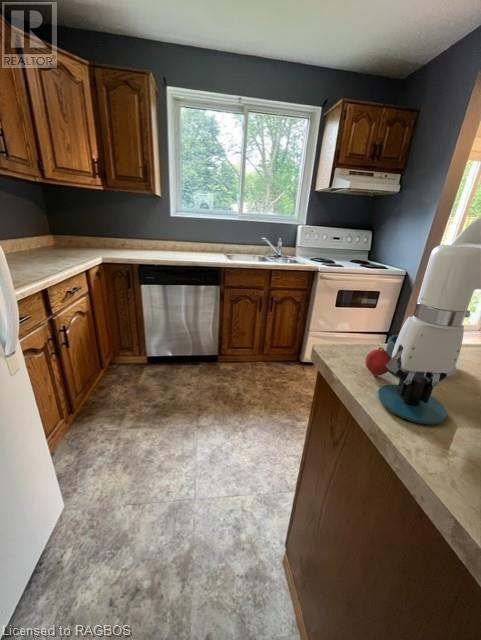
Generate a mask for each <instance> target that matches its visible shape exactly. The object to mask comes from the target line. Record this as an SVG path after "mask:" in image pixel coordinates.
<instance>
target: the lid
mask: <svg viewBox="0 0 481 640" xmlns="http://www.w3.org/2000/svg"><path fill="white" fill-rule="evenodd" d="M426 383H427V380H426V379H425V378H424V377H422V376H419V375H414V377H413V379H412V381H411V384H412V386H413V388H412V391H411V394H410V397H409V400H408V401H407V402H404V401H403V400H402V399H401V398H400V396H399V395H398V394H397V387H398V384H397V383H396V384H395V383H394V384H393V383H392V384H385V385H382V386H380V387H379V389H378V391H377V399H378V401H379V403H381V405H383V407H384V408H385V409H387V410H388V411H390V412H391V413H393V414H394V415H396V416H399V417H400V418H402V419H405V420H408V421H409V422H412V423H413V422H414V423H417V424H421V425H439V424H441V423H443V422H444V421H445V420H446V418H447V417H448V415H447V414H448V413H447V409H446V407H445V406H444V405H443V403H441V402H440V401H439V400H438V399H436V398H435V397H434V396H432V395H430V397H429V400H428V403H424V402H422V401H421V398H422V395H423V392H424V389H425V386H426Z"/></svg>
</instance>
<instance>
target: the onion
mask: <svg viewBox="0 0 481 640" xmlns="http://www.w3.org/2000/svg"><path fill="white" fill-rule="evenodd" d="M390 360H391V357H390V356H389V354H388V353H387V352H386V349H385V348H384V347H383V346H379V347H378V348H376V349H373V350H371V351H370V352H369V353H367V355H366V357H365V360H364V361H365V362H364V364H365V367H366V369H367V370H368V372H370V374H371V375H372V376H374V377H378V376H382V375H385V374H387V373H388V372H389V369H388V368H387V367H386V364H387V363H388V362H389V361H390Z"/></svg>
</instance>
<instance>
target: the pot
mask: <svg viewBox="0 0 481 640" xmlns="http://www.w3.org/2000/svg"><path fill="white" fill-rule="evenodd" d="M398 336H399V334H394V335H391V336H389V337H388V340H387V343H386V347H385V351H386V352H387V353H388V354H389V356H390V357H391V359H392V353H393V349H394V346H395V343H396V341H397V338H398ZM401 364H402V362H401V363H400V364H399V365H398V367H399V368H400V369H401ZM388 372H389V373H390V374H392V375H394V376H397V377H398V375H397V374H396V373H394V372H392V371H391V370H389V371H388ZM407 372H408V371H407ZM424 373H425V372H416V373H415V375H419V376H422V377H424ZM406 374H407V373H406Z"/></svg>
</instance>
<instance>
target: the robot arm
mask: <svg viewBox="0 0 481 640" xmlns="http://www.w3.org/2000/svg"><path fill="white" fill-rule="evenodd" d="M475 290H476V291H477V290H481V215H480V216H478V217H477V218H475V219H474V220H473V221H471V222H470V223H469V224H468V225H467V226H466V227H464V228H463V230H462V231H461V232H460V233H459V234H458V235H457V236H456V237H455V238H454V239H453V240H452V241H451V242H450V243H449V244H440V245H437V246H435V247H434V248H433V249H432V250H431V252H430V255H429V258H428V262H427V265H426V269H425V272H424V275H423V279H422V283H421V287H420V290H419V293H418V297H417V301H416V304H415V307H414V311H413V315H412V316H407V318H406V319H405V322H404V323H403V325H402V327H401V329H400V331H399V334H398V335H399V336H398V338H397V341H396V343H395V346H394V349H393V353H392V359H391V360H390V361H389V362H388V363H387V364H386V367H387V368H388V369H389V370H391V371H392V372H394V373H396V374H397V375H398V376H397V377H398V378H399V381H398V384H397V385H398V387H397V394H398V395H399V396H400V398H401V399H402V400H403V401H404V402H407V401H408V400H409V397H410V394H411V391H412V388H413V386H412V384H411V381H412V379H413V377H414V375H415V373H416V372H425V373H424V378H425V379H426V380H427V383H426V386H425V389H424V392H423V395H422V398H421V401H422V402H424V403H428V400H429V397H430V396H432V392H433V389H434V387H438V385H439V384H440V383H439V382H441V381H443V380H444V379H446V378H447V377H450V376H452V375H456V374H457V373H458V369H457V366H456V365H457V363H458V360H459V357H460V354H461V349H462V345H463V340H464V333H465V332H464V330H465V326H464V325H463V323H464V321H465V318H469V317H470V316H471V311H470V310H468V309H469V307H470V303H471V300H472V298H473V295H474V292H475ZM401 362H402V364H401V369H400V368H399V367H398V365H399V364H400V363H401ZM407 371H408V372H407ZM406 373H407V374H406Z"/></svg>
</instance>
